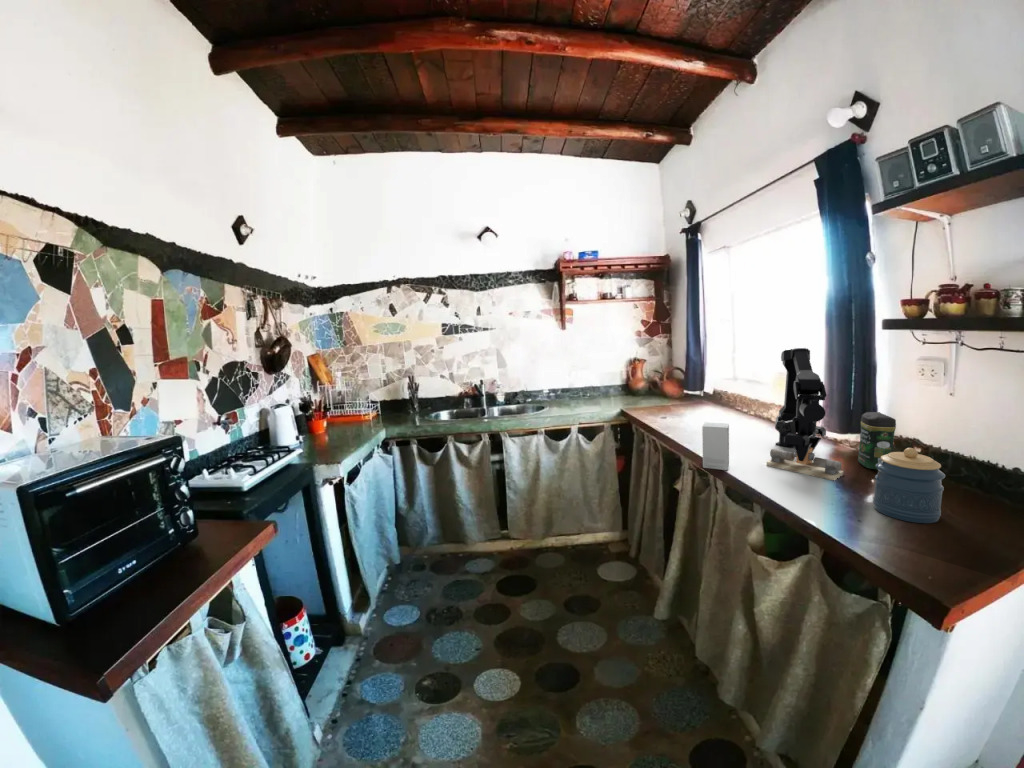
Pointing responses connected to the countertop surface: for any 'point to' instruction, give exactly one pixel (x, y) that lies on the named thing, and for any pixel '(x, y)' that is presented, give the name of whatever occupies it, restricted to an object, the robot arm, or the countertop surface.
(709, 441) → the skincare box
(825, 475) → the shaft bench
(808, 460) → the coupling
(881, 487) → the canister
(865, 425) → the coffee jar
